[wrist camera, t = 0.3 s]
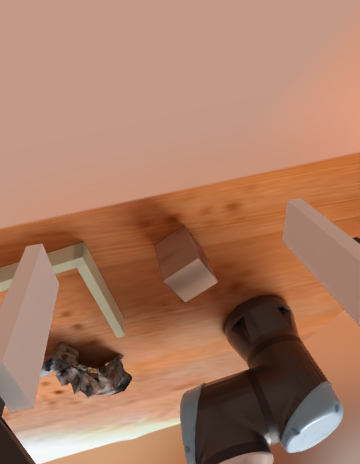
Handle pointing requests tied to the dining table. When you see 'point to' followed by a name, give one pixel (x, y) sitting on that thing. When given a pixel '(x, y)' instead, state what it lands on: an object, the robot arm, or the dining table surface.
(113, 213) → the dining table surface
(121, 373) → the grey crumpled lump
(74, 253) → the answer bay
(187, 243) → the walnut block
